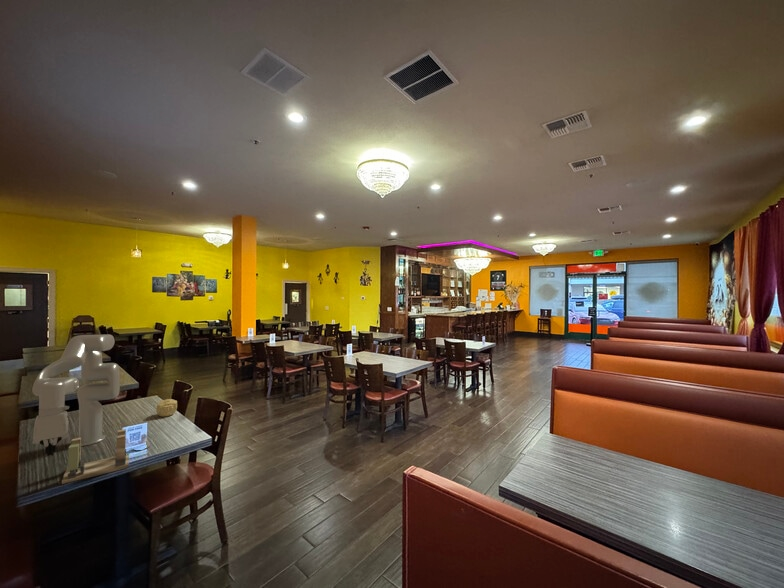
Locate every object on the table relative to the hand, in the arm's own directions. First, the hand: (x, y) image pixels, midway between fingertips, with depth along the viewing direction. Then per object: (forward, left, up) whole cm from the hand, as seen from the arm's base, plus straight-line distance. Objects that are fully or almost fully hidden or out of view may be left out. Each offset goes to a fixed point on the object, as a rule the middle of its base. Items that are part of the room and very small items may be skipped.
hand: (50, 454), depth 137 cm
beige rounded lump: (-68, +45, -13) cm, 83 cm away
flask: (-18, +31, -13) cm, 38 cm away
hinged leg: (0, +7, -10) cm, 12 cm away
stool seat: (-4, +15, -13) cm, 20 cm away
